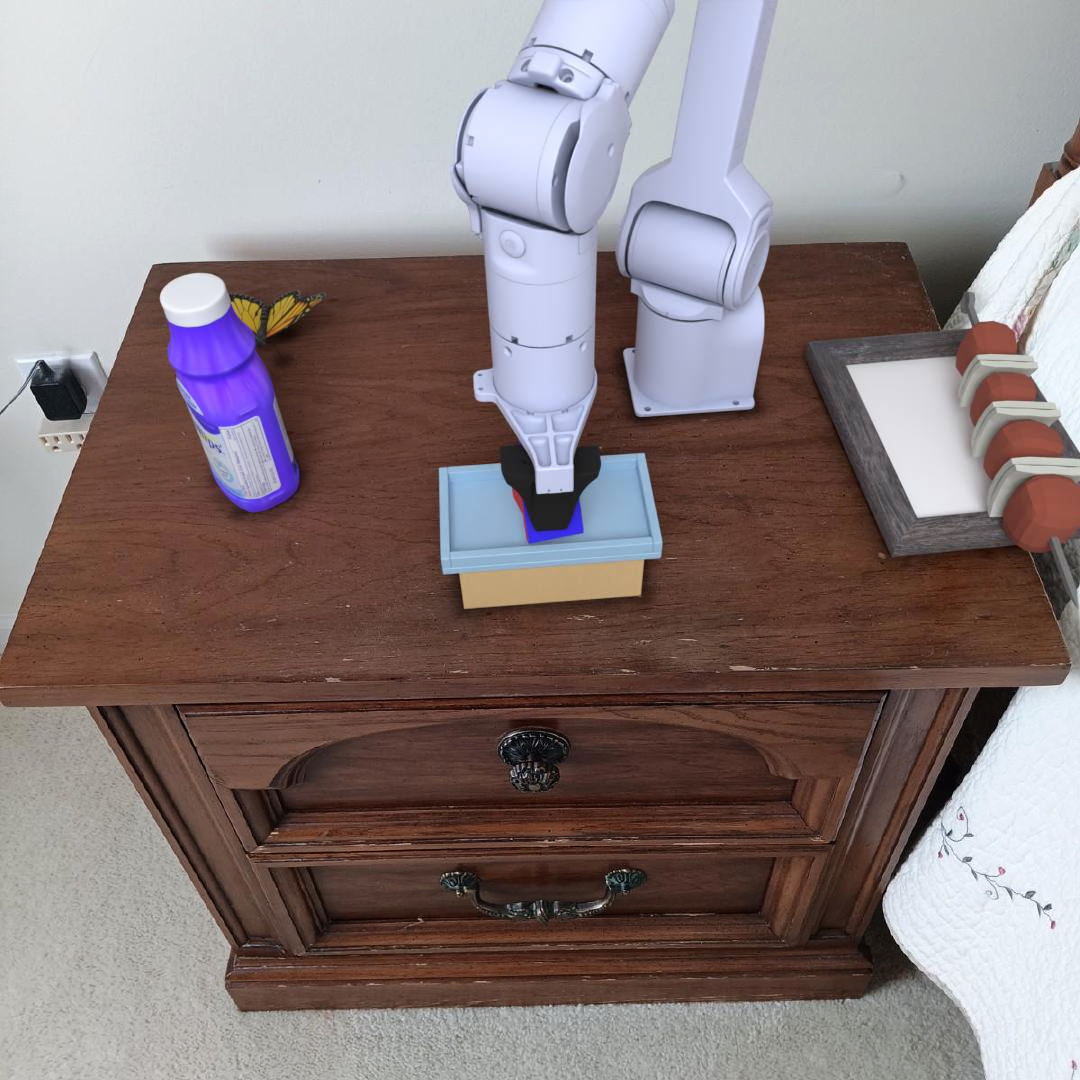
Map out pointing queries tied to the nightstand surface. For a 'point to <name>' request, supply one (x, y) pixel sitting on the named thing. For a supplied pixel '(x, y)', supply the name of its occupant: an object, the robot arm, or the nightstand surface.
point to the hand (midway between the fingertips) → (546, 487)
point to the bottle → (228, 394)
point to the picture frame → (912, 438)
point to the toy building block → (535, 537)
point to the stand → (555, 565)
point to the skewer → (1018, 442)
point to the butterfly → (272, 313)
